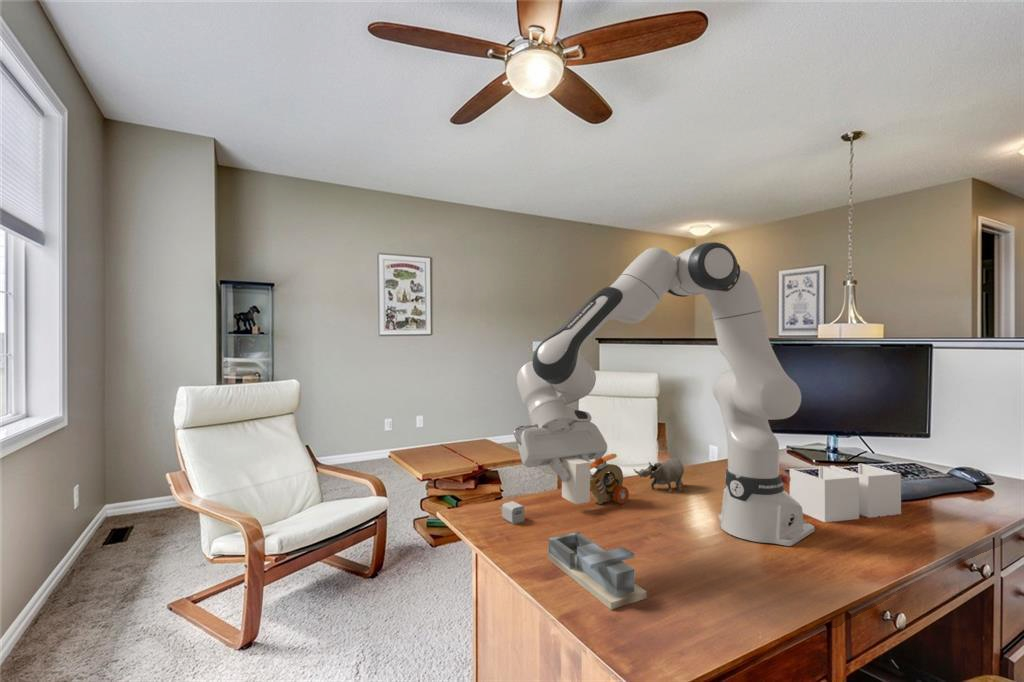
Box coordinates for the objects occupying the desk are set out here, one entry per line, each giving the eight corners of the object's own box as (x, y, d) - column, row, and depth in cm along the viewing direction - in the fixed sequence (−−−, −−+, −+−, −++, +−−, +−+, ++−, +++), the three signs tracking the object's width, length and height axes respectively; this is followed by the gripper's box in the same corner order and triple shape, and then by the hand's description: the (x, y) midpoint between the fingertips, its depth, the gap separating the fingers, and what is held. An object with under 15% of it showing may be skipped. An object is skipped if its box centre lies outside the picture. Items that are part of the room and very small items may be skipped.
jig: (582, 550, 102) (582, 522, 102) (651, 596, 83) (651, 563, 83) (543, 559, 97) (543, 530, 97) (606, 611, 79) (606, 575, 79)
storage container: (824, 523, 118) (824, 480, 118) (789, 508, 129) (789, 468, 129) (901, 514, 124) (900, 473, 124) (861, 501, 134) (861, 463, 134)
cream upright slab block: (575, 494, 98) (576, 456, 98) (589, 501, 94) (590, 462, 94) (561, 496, 97) (562, 458, 97) (575, 504, 92) (575, 464, 92)
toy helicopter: (631, 502, 133) (632, 454, 133) (575, 516, 122) (576, 464, 122) (611, 494, 139) (611, 448, 140) (556, 507, 128) (556, 457, 128)
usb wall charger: (512, 524, 116) (512, 508, 116) (496, 516, 122) (496, 501, 122) (524, 520, 119) (524, 505, 119) (508, 512, 124) (508, 498, 124)
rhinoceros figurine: (702, 481, 144) (676, 443, 142) (673, 512, 140) (646, 473, 138) (686, 477, 151) (661, 440, 150) (658, 505, 147) (632, 469, 146)
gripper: (516, 417, 97) (539, 476, 88) (595, 412, 106) (623, 465, 97) (506, 435, 101) (527, 493, 92) (583, 428, 110) (609, 480, 101)
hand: (577, 478), depth 95 cm, fingers closed on cream upright slab block, 3 cm apart
